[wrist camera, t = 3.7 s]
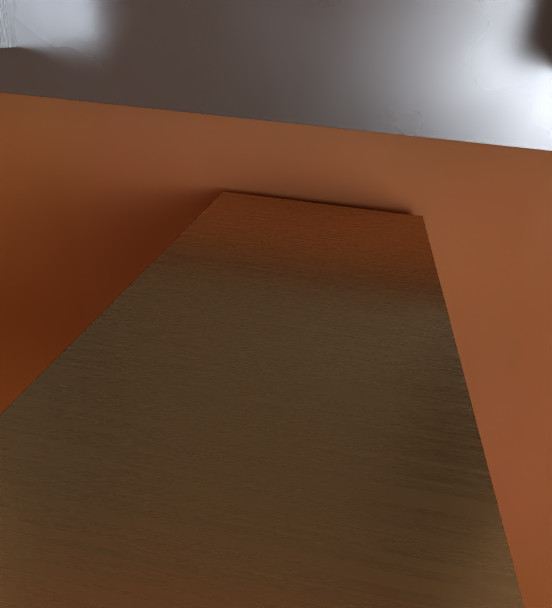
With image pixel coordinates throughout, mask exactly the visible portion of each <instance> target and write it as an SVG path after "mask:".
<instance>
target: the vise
mask: <svg viewBox="0 0 552 608" xmlns="http://www.w3.org/2000/svg"><path fill="white" fill-rule="evenodd" d="M0 92H3V93H13V94H22V95H32V96H41V97H51V98H60V99H69V100H79V101H88V102H98V103H107V104H117V105H126V106H136V107H145V108H154V109H164V110H173V111H183V112H192V113H202V114H211V115H220V116H230V117H239V118H249V119H258V120H268V121H277V122H286V123H296V124H305V125H315V126H324V127H334V128H343V129H353V130H362V131H371V132H381V133H390V134H400V135H409V136H419V137H428V138H437V139H447V140H456V141H466V142H475V143H485V144H494V145H503V146H513V147H522V148H532V149H541V150H551V151H552V0H0Z"/></svg>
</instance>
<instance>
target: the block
mask: <svg viewBox="0 0 552 608" xmlns="http://www.w3.org/2000/svg"><path fill="white" fill-rule="evenodd" d="M0 608H524V605H523V601H522V597H521V593H520V589H519V586H518V582H517V578H516V574H515V570H514V566H513V562H512V559H511V555H510V551H509V547H508V543H507V539H506V535H505V532H504V528H503V524H502V520H501V516H500V512H499V508H498V505H497V501H496V497H495V493H494V489H493V485H492V482H491V478H490V474H489V470H488V466H487V462H486V458H485V455H484V451H483V447H482V443H481V439H480V435H479V431H478V428H477V424H476V420H475V416H474V412H473V408H472V404H471V401H470V397H469V393H468V389H467V385H466V381H465V377H464V374H463V370H462V366H461V362H460V358H459V354H458V350H457V347H456V343H455V339H454V335H453V331H452V327H451V324H450V320H449V316H448V312H447V308H446V304H445V300H444V297H443V293H442V289H441V285H440V281H439V277H438V273H437V270H436V266H435V262H434V258H433V254H432V250H431V246H430V243H429V239H428V235H427V231H426V227H425V223H424V219H423V216H415V215H407V214H399V213H391V212H383V211H375V210H368V209H360V208H352V207H344V206H336V205H328V204H320V203H312V202H304V201H296V200H288V199H280V198H272V197H264V196H256V195H248V194H240V193H232V192H224V191H223V192H222V193H221V194H220V195H219V196H218V197H217V198H216V199H215V200H214V201H213V202H212V203H211V204H210V205H209V206H208V207H207V208H206V209H205V210H204V211H203V212H202V213H201V214H200V215H199V216H198V217H197V218H196V219H195V220H194V221H193V222H192V223H191V224H190V225H189V226H188V227H187V228H186V229H185V230H184V231H183V232H182V233H181V234H180V235H179V236H178V237H177V238H176V239H175V240H174V241H173V242H172V243H171V244H170V245H169V246H168V247H167V248H166V249H165V250H164V251H163V252H162V253H161V254H160V255H159V256H158V257H157V258H156V259H155V260H154V261H153V262H152V263H151V264H150V265H149V266H148V267H147V268H146V269H145V270H144V271H143V272H142V273H141V274H140V275H139V276H138V277H137V278H136V279H135V280H134V281H133V282H132V283H131V284H130V285H129V286H128V287H127V288H126V289H125V290H124V291H123V292H122V293H121V294H120V295H119V296H118V297H117V298H116V299H115V300H114V301H113V302H112V303H111V304H110V305H109V306H108V307H107V309H106V310H105V311H104V312H103V313H102V314H101V315H100V316H99V317H98V318H97V319H96V320H95V321H94V322H93V323H92V324H91V325H90V326H89V327H88V328H87V329H86V330H85V331H84V332H83V333H82V334H81V335H80V336H79V337H78V338H77V339H76V340H75V341H74V342H73V343H72V344H71V345H70V346H69V347H68V348H67V349H66V350H65V351H64V352H63V353H62V354H61V355H60V356H59V357H58V358H57V359H56V360H55V361H54V362H53V363H52V364H51V365H50V366H49V367H48V368H47V369H46V370H45V371H44V372H43V373H42V374H41V375H40V376H39V377H38V378H37V379H36V380H35V381H34V382H33V383H32V384H31V385H30V386H29V387H28V388H27V389H26V390H25V391H24V392H23V393H22V394H21V395H20V396H19V397H18V398H17V399H16V400H15V401H14V402H13V403H12V404H11V405H10V406H9V407H8V408H7V409H6V410H5V411H4V412H3V413H2V414H1V415H0Z"/></svg>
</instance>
